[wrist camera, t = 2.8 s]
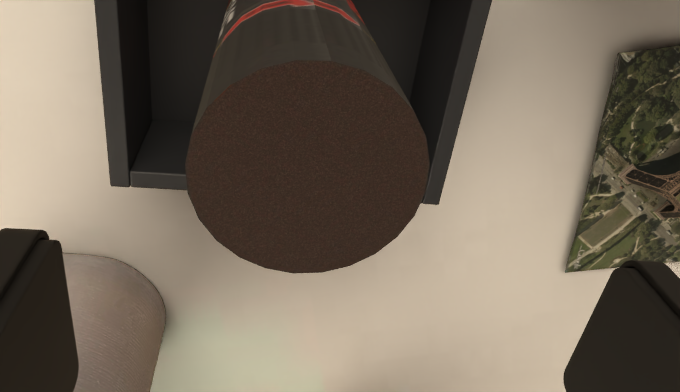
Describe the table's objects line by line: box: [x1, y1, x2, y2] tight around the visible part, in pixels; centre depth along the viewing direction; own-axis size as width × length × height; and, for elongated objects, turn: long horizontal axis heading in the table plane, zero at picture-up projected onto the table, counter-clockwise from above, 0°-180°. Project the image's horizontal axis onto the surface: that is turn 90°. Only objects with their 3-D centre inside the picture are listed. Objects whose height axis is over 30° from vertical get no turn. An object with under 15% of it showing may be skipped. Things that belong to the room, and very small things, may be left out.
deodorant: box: [185, 0, 430, 273], centre depth 20 cm, size 6×6×15 cm
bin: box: [94, 0, 492, 205], centre depth 24 cm, size 15×13×6 cm
